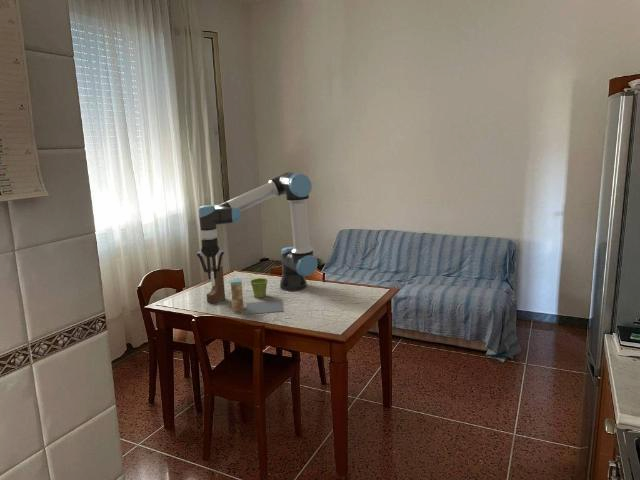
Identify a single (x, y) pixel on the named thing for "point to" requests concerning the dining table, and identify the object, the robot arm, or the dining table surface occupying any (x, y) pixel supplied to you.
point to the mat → (264, 307)
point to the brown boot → (217, 287)
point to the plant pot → (259, 287)
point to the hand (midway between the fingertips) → (213, 285)
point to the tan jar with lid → (237, 295)
